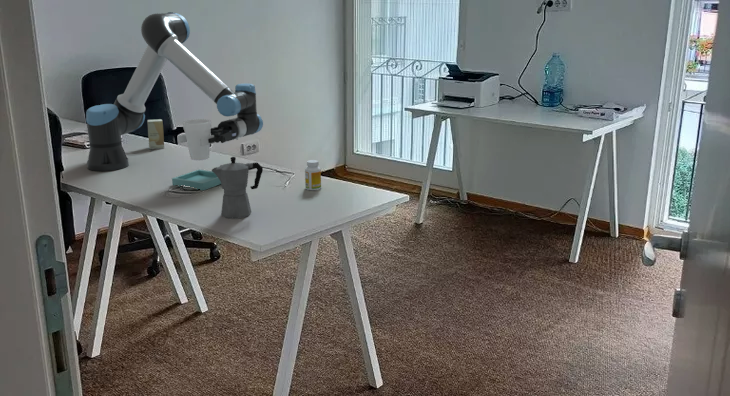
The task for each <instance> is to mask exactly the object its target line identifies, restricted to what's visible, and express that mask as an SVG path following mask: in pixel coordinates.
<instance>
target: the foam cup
mask: <svg viewBox="0 0 730 396" xmlns="http://www.w3.org/2000/svg"><path fill="white" fill-rule="evenodd" d="M182 125H183V128H182V129H183V130H184V134H185V135H186V140H187V142H186V144H187V148H188V153H189V157H190V160H192V161H203V160H204V161H205V160H209V158H210V151H211V149H210V148H211V144H209V145H206V146H200V138H204V137H207V136H211V128H212V120H210V119H204V118H203V119H199V118H198V119H197V118H196V119H187V120H185V121H183V122H182Z"/></svg>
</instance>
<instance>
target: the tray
mask: <svg viewBox="0 0 730 396" xmlns="http://www.w3.org/2000/svg"><path fill="white" fill-rule="evenodd" d="M171 182H172V183H171V185H172V186H175V185H179V186H178V187H180V186H181V185H185V186H190V187H194V188H197V189H196V190H198V189H200V190H199V191H206V190H208V189H211V188H213V187H216V186H217V187H218V186H220V185H221V181H220V180H219V178H218V177H217V175H216V174H215V173H214V172H212V170H205V169H195V170H193V171H190V172H186V173H184V174H181V175H178V176H175V177H172V178H171Z"/></svg>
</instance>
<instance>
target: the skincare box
mask: <svg viewBox="0 0 730 396" xmlns="http://www.w3.org/2000/svg"><path fill="white" fill-rule="evenodd" d="M147 136H148V137H147V138H148V147H149V150H159V149H165V140H164V139H165V137H164V124H163V119H161V118H159V119H147Z"/></svg>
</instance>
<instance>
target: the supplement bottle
mask: <svg viewBox="0 0 730 396" xmlns="http://www.w3.org/2000/svg"><path fill="white" fill-rule="evenodd" d="M319 163H320V162H319V160H318V159H316V160H315V159H309V160H307V161H306V167H305V168H304V178H305V179H304V180H305V182H304V184H305V189H306V190H307V191H319V190H320V189H322V175H321V174H322V171H321V170H322V169H321V167H320V166H319V165H320V164H319Z"/></svg>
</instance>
